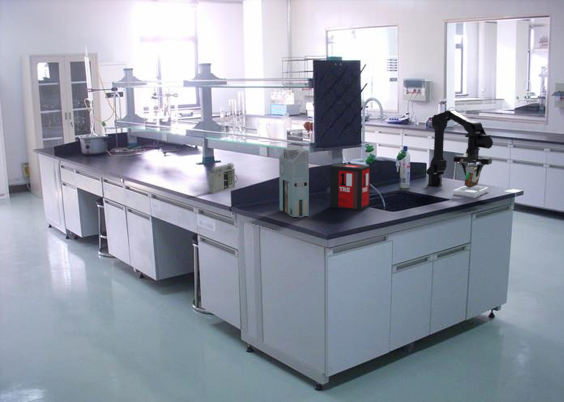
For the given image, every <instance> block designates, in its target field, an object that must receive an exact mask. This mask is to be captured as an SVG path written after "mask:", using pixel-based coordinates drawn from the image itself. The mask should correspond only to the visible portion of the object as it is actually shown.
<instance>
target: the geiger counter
mask: <svg viewBox="0 0 564 402" xmlns="http://www.w3.org/2000/svg"><path fill="white" fill-rule="evenodd" d="M234 167H235V165H234V163H233V162H228V163H227V164H223V165H218V166H214V167H211V169H210V171H208V172H206V175H207V176H208V184H209V185H208V186H209V194H216V193H220V192H224V191H226V190H230V189H234V188H236V183H237V182H238V180H239V179H238V176H237V174H236V171H235V170H236V169H235V168H234Z"/></svg>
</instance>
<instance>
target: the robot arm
mask: <svg viewBox="0 0 564 402" xmlns="http://www.w3.org/2000/svg"><path fill="white" fill-rule="evenodd" d="M451 120H452V121H454V122H455V123H456V124H457V125H460V126H462V127H463V128H464V131H466V132H467V133H466V135H465V136H464V137H465V138H467V148H466V150H465V153H464V154H463V155H461V154H460V155H459V154H457V155H455V156H454V157H453V160H452V161H453V162H455V163H458V164H460V166H462V167H461V168H462V170H463V173H464V175H465V177H466V170H465V169H466V167H467V166H468V165H469V163H470V164H471V163H478V164H476V165H477V174H476V177H478V175H479V173H480V171H481V172H482V170H483V168H484V166H486V165H487V166H488V165H491V164H492V163H493V159H492V157H482V158H480V156H479V154H480V152H479V151H480V150H481V149H487V150H488V149H491V148H492V146H493V145H494V141H493V138H492V137H491V135H490V134H487V133H486V132H485V129H484V127H483V123H481V122H480V121H478V120H472V119H469V118H468V117H466V116H464V115H462V114H461V113H459V112H457V111H456V110H454V109H447V110H446V111H443V112H441V113H438V114H434V115H433V116H432V117H431V126H432V128H433V130H434V138H433V140H434V141H433V143H434V144H433V157H432V159H431V161H430V164H429V167H428V168H427V169H426V170H425V173H426V175H427V176H428V180H427V181H428V182H427V184H426V186H429V187H436V188H438V187H441V186H442V185H443V184H442V182H443V177H442V175H444V174H445V171H446V168H448V166H447V163H448V161H447V159H445V158H444V144H445V143H444V141H445V140H444V139H445V138H444V136H445V131H446V128H447V126H448V123H449V122H450V121H451ZM480 148H481V149H480ZM481 169H482V170H481ZM480 174H481V173H480Z"/></svg>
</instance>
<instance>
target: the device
mask: <svg viewBox="0 0 564 402" xmlns="http://www.w3.org/2000/svg"><path fill="white" fill-rule="evenodd" d="M282 149H283V152H282V153H281V154H280V155H279V158H278V160H279V161H278V162H279V163H278V164H279V165H278V167H279V170H278V172H279V173H278V174H279V175H278V176H279V180H278V181H279V182H278V183H279V211H280V212H283V213H285V212H286V213H288V214H289V215H288V214H287V215H288V216H289V217H291V216H292V218H293V217H297V216H310V215H309V209H310V208H309V201H310V200H309V196H310V195H309V193H310V188H309V180H310V179H309V178H310V177H309V175H310V174H309V172H310V170H309V169H310V168H309V166H310V165H309V163H310V161H309V160H310V159H309V157H310V156H309V155H310V154H309V150H308V149H305V148H301V147H298V146H294V145H293V146H291V145H290V146H288V147H287V148H286V147H285V148H282ZM286 213H285V214H286Z"/></svg>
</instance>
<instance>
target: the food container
mask: <svg viewBox="0 0 564 402" xmlns="http://www.w3.org/2000/svg"><path fill="white" fill-rule="evenodd" d="M465 170H466V176H465V179H464V186H467V187H470V188H471V187H474V186H478V185H479V181H480V177H481V172H482V170H483V168H482V169H481V171H480V173H479V175H478V177H476V174H477V164H468V166H467V167H466V169H465Z"/></svg>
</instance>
